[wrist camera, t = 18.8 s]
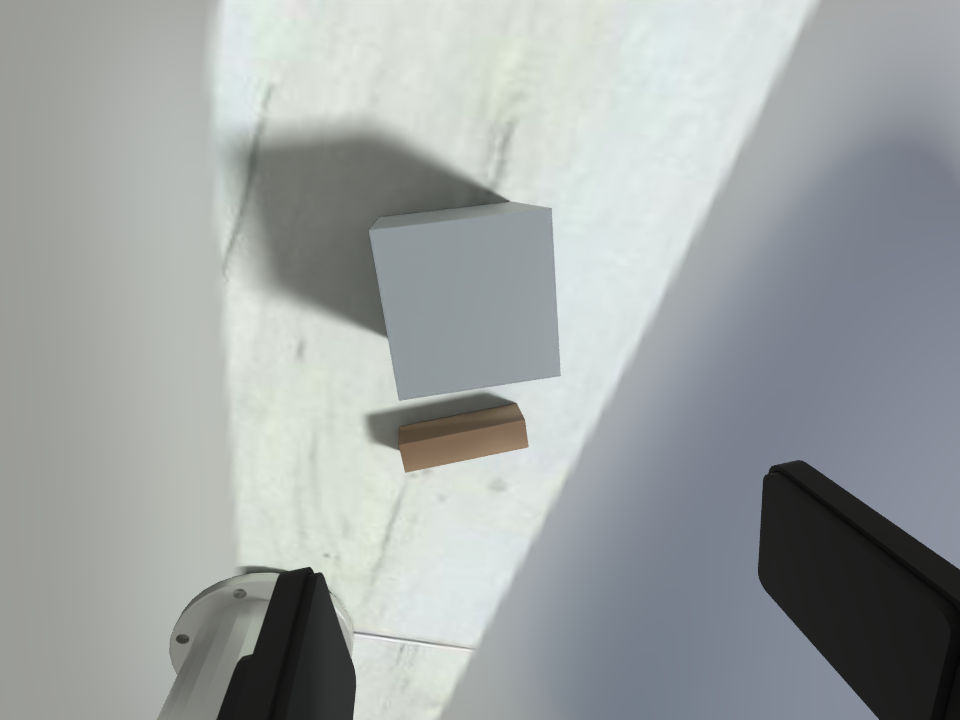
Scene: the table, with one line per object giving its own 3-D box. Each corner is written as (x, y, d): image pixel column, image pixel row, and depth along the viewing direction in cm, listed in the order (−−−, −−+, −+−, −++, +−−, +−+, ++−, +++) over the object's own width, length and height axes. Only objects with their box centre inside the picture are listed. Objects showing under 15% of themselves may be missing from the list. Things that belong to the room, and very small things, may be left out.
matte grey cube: (521, 326, 32) (560, 375, 24) (400, 343, 31) (398, 400, 23) (510, 201, 29) (551, 208, 21) (379, 217, 29) (368, 230, 20)
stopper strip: (520, 429, 35) (528, 447, 32) (405, 452, 34) (405, 472, 32) (516, 403, 34) (524, 419, 32) (399, 426, 33) (398, 445, 31)
